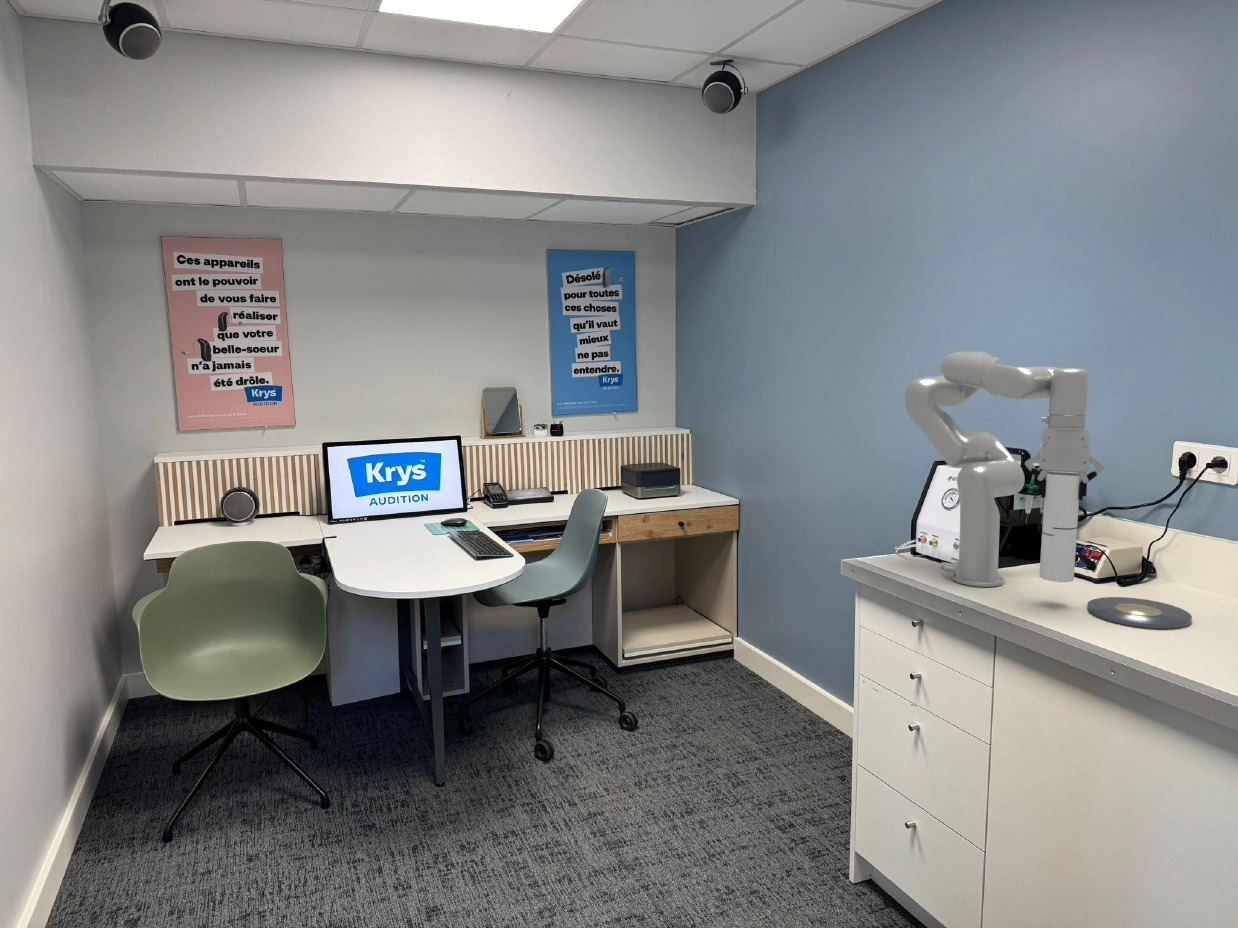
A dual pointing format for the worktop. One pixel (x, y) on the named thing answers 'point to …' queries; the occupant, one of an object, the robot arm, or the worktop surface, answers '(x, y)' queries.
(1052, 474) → the cylindrical container
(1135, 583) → the worktop surface
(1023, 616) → the worktop surface
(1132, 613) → the plate
